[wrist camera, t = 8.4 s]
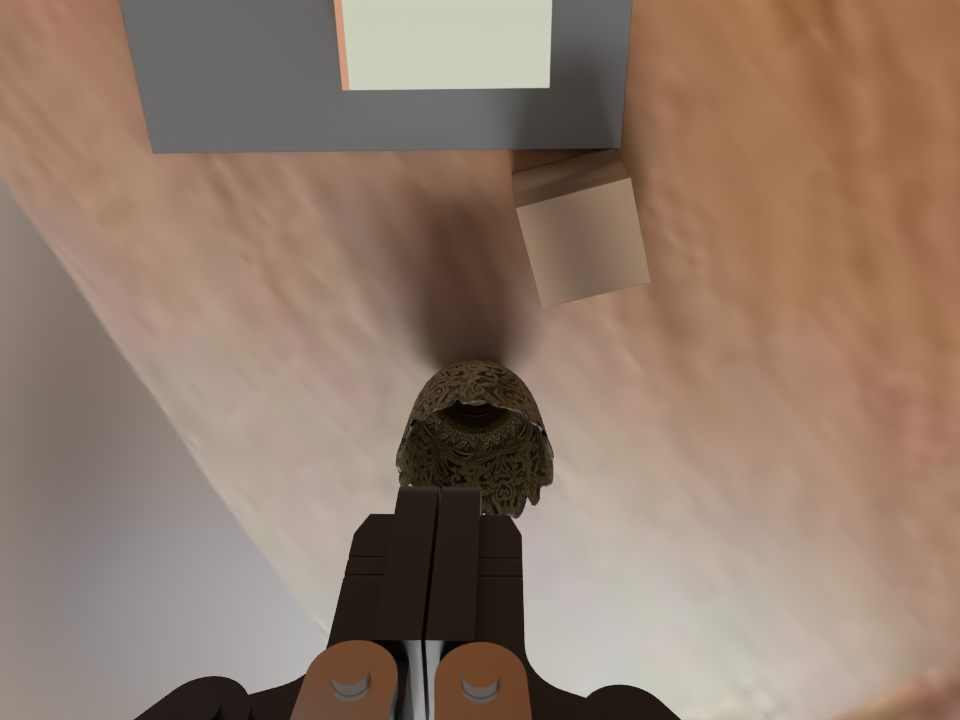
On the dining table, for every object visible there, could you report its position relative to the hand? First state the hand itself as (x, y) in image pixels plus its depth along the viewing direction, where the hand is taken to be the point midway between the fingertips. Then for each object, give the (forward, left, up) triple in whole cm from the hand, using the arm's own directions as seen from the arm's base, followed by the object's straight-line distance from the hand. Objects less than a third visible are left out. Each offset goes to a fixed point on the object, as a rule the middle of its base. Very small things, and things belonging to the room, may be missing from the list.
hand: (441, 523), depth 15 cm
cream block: (+5, -7, -25) cm, 26 cm away
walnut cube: (-5, +4, -27) cm, 28 cm away
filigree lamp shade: (0, +13, -27) cm, 30 cm away
